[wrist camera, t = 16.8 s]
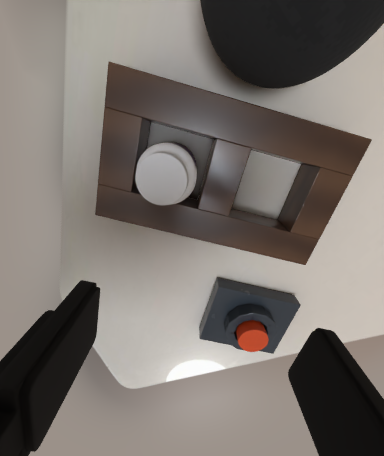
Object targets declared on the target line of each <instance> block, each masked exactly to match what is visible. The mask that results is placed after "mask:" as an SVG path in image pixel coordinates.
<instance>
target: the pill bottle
mask: <svg viewBox="0 0 384 456" xmlns="http://www.w3.org/2000/svg"><path fill="white" fill-rule="evenodd" d="M196 179H197V165H196V160H195V157H194V155H193V154H192V152H191V151H190V150H189V149H188V148H187V147H185V146H184V145H181V144H179V143H166V142H165V143H159V144H155V145H153V146H151V147H149V148H148V149H147V150H146V151H145V152H144V153H143V154H142V155H141V157H140V158H139V161H138V163H137V168H136V175H135V180H136V185H137V188H138V190H139V192H140V194H141V195H142V196H143V197H144V198H145V199H146V200H147V201H149V202H151V203H153V204H156V205H172V204H176V203H179V202H181V201H183V200H184V199H186V198H187V197H188V196H189V195H190V194H191V192H192V191H193V189H194V187H195V184H196Z"/></svg>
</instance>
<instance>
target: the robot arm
mask: <svg viewBox="0 0 384 456" xmlns="http://www.w3.org/2000/svg"><path fill="white" fill-rule="evenodd" d="M99 298H100V288H99V287H96V283H93V282H88V281H83V280H82V281H80V282H79V283H78V284H77V285H76V286H75V288H74V289H73V290H72V291H71V292H70V293H69V295H68V296H67V297H66V298H65V299H64V300H63V302H62V303H61V304H60V305H59V306H58V307H57V309H56V310H55V311H52V310H48V311H47V312H45V313H44V314H43V315H42V316H41V317H40V318H39V319H38V320H37V321H36V322H35V323H34V325H33V326H32V327H31V328H30V329H29V330H28V331H27V332H26V333H25V335H24V336H23V337H22V338H21V339H20V340H19V341H18V342H17V343H16V345H15V346H14V347H13V348H12V349H11V350H10V351H9V352H8V353H7V354H6V355H5V357H4V358H3V359H2V360H1V361H0V456H28V455H29V454H30V452H31V451H36V450H37V449H38V448H39V446H40V445H41V443H42V441H43V439H44V437H45V435H46V433H47V432H48V430H49V428H50V426H51V424H52V422H53V420H54V418H55V416H56V414H57V412H58V410H59V408H60V406H61V404H62V403H63V401H64V399H65V397H66V395H67V393H68V391H69V389H70V387H71V385H72V384H73V381H74V380H75V378H76V376H77V374H78V372H79V370H80V368H81V366H82V364H83V362H84V360H85V359H86V357H87V355H88V353H89V350H90V349H91V347H92V345H93V343H94V341H95V338H96V333H97V322H98V310H99ZM288 376H289V380H290V382H291V385H292V388H293V390H294V393H295V395H296V398H297V401H298V403H299V406H300V408H301V411H302V413H303V416H304V419H305V421H306V424H307V426H308V429H309V431H310V434H311V436H312V439H313V441H314V444H315V447H316V449H317V452H318V454H319V456H384V399H383V398H382V396H381V395H380V394H379V392H378V391H377V390H376V388H375V387H374V385H373V384H372V383H371V382H370V380H369V379H368V377H367V376H366V375H365V373H364V372H363V370H362V369H361V368H360V366H359V365H358V364H357V362H356V361H355V359H354V358H353V357H352V355H351V354H350V353H349V351H348V350H347V349H346V347H345V346H344V344H343V343H342V342H341V340H340V339H339V338H338V336H337V335H336V334H335V333H334V332H333V331H331V330H326V329H321V328H317V329H316V330H315V331H313V332H312V333H311V334H310V336H309V338H308V339H307V341H306V343H305V344H304V346H303V348H302V349H301V351H300V352H299V354H298V356H297V357H296V359H295V361H294V363H293V364H292V366H291V367H290V369H289V372H288Z"/></svg>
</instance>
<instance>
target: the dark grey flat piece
mask: <svg viewBox="0 0 384 456" xmlns="http://www.w3.org/2000/svg"><path fill="white" fill-rule="evenodd" d="M299 307H300V303H299V302H298V300H297V299H296V297H295V296H294V295H292V294H288V293H284V292H279V291H275V290H270V289H266V288H262V287H257V286H253V285H248V284H244V283H240V282H235V281H231V280H226V279H222V278H217V280H216V282H215V285H214V288H213V291H212V293H211V296H210V299H209V302H208V305H207V307H206V310H205V313H204V316H203V319H202V321H201V324H200V327H199V331H200V339H203V340H208V341H213V342H218V343H223V344H228V345H233V346H234V347H235V348H237V349H241V350H243V349H242V348H241V347H240V346H239V344H238V339H237V335H236V329H237V327H238V325H239V324H241V323H242V322H244V321H250V320H255V321H259V322H261V323H262V324H263V325H264V327H265V330H266V333H267V335H268V339H269V340H268V344H267V345H266V347H265V348H263V349H262V350H259V351H263V352H268V353H274V351H275V349H276V348H277V346H278V344H279V342H280V341H281V339H282V337H283V335H284V334H285V332H286V330H287V328H288V327H289V325H290V323H291V321H292V320H293V318H294V316H295V314H296V312H297V311H298V309H299Z"/></svg>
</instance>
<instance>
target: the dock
mask: <svg viewBox="0 0 384 456" xmlns="http://www.w3.org/2000/svg"><path fill="white" fill-rule="evenodd" d="M151 122H153V123H157V124H161V125H164V126H168V127H171V128H175V129H178V130H182V131H186V132H189V133H193V134H196V135H200V136H204V137H207V138H211V139H214V140H213V144H212V148H211V151H210V155H209V159H208V162H207V166H206V170H205V173H204V177H203V181H202V184H201V188H200V192H199V196H198V199H197V200H196V199H192V198H188V197H187V198H186V199H184V200H183V201H181V202H179V203H176V204H172V205H156V204H153V203H151V202H149V201H147V200H146V199H145V198H144V197H143V196H142V195H141V194H140V192H139V190H138V188H137V185H136V180H135V175H136V168H137V163H138V161H139V158H140V157H141V155H142V154H143V153H144V152H145V151H146V148H147V142H148V136H149V130H150V124H151ZM371 141H372V140H371V139H368V138H365V137H361V136H358V135H355V134H351V133H348V132H344V131H341V130H338V129H334V128H331V127H328V126H324V125H321V124H317V123H314V122H311V121H307V120H304V119H301V118H297V117H294V116H291V115H287V114H284V113H280V112H277V111H274V110H270V109H267V108H264V107H260V106H257V105H253V104H250V103H247V102H243V101H240V100H237V99H233V98H230V97H227V96H223V95H220V94H216V93H213V92H210V91H206V90H203V89H200V88H196V87H193V86H189V85H186V84H183V83H179V82H176V81H173V80H169V79H166V78H163V77H159V76H156V75H152V74H149V73H146V72H142V71H139V70H136V69H132V68H129V67H125V66H122V65H119V64H115V63H112V62H109V64H108V75H107V87H106V98H105V109H104V121H103V133H102V144H101V156H100V167H99V179H98V190H97V202H96V213H95V215H98V216H103V217H107V218H111V219H115V220H119V221H124V222H128V223H132V224H136V225H140V226H144V227H149V228H153V229H157V230H161V231H165V232H169V233H174V234H178V235H182V236H186V237H190V238H194V239H199V240H203V241H207V242H211V243H215V244H220V245H224V246H228V247H232V248H236V249H240V250H245V251H249V252H253V253H257V254H261V255H265V256H270V257H274V258H278V259H282V260H286V261H290V262H295V263H299V264H303V265H306V263H307V261H308V259H309V257H310V255H311V254H312V252H313V250H314V248H315V246H316V244H317V242H318V240H319V239H320V237H321V235H322V233H323V231H324V229H325V227H326V225H327V224H328V222H329V220H330V218H331V216H332V214H333V212H334V210H335V208H336V207H337V205H338V203H339V201H340V199H341V197H342V195H343V193H344V192H345V190H346V188H347V186H348V184H349V182H350V180H351V178H352V176H353V174H354V173H355V171H356V169H357V167H358V165H359V163H360V161H361V159H362V157H363V156H364V154H365V152H366V150H367V148H368V146H369V144H370V142H371ZM251 150H254V151H257V152H261V153H264V154H268V155H272V156H275V157H279V158H282V159H286V160H290V161H293V162H297V163H300V164H302V165H301V167H300V169H299V172H298V174H297V176H296V179H295V181H294V183H293V186H292V188H291V190H290V193H289V195H288V197H287V199H286V202H285V204H284V206H283V209H282V211H281V213H280V216H279V218H278V220H274V219H270V218H266V217H262V216H258V215H255V214H251V213H247V212H243V211H239V210H235V209H231V208H232V205H233V202H234V199H235V196H236V193H237V190H238V187H239V184H240V181H241V178H242V175H243V172H244V169H245V166H246V163H247V160H248V157H249V154H250V151H251Z"/></svg>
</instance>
